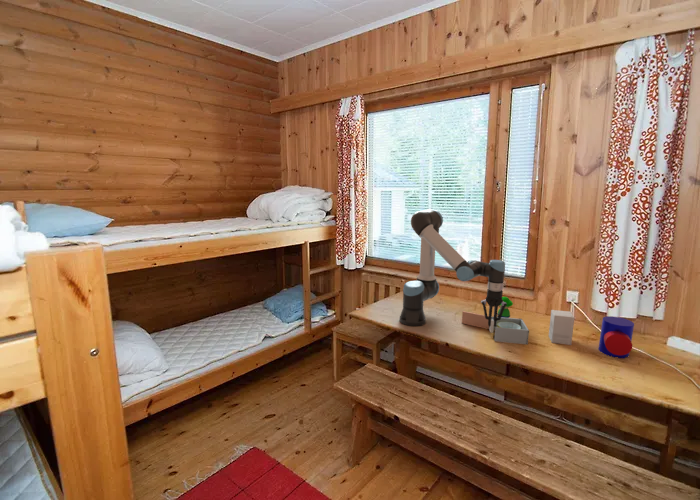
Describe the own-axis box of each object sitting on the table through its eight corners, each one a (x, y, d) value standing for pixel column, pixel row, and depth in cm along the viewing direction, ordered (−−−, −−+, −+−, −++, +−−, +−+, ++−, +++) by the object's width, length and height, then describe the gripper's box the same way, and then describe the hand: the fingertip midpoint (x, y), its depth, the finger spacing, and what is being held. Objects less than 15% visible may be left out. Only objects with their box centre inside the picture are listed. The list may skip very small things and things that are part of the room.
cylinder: (632, 364, 161) (637, 331, 158) (600, 357, 167) (604, 325, 164) (625, 346, 178) (630, 316, 175) (596, 341, 184) (601, 312, 181)
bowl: (501, 330, 198) (502, 319, 197) (523, 336, 190) (524, 325, 189) (492, 336, 190) (493, 325, 189) (515, 343, 182) (516, 331, 181)
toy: (508, 318, 214) (510, 294, 212) (513, 324, 206) (515, 299, 203) (493, 317, 215) (494, 294, 212) (497, 323, 207) (499, 298, 204)
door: (462, 322, 209) (463, 310, 207) (490, 328, 200) (491, 315, 199) (461, 323, 207) (462, 311, 206) (489, 329, 199) (490, 316, 197)
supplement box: (567, 338, 188) (570, 311, 185) (571, 345, 180) (575, 317, 177) (548, 335, 191) (551, 309, 188) (551, 342, 182) (554, 315, 180)
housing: (494, 341, 184) (495, 327, 183) (490, 329, 199) (491, 316, 198) (527, 344, 181) (529, 330, 179) (520, 331, 196) (522, 318, 194)
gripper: (482, 290, 185) (479, 333, 190) (509, 292, 182) (505, 335, 187) (481, 286, 192) (477, 327, 197) (507, 288, 189) (502, 329, 194)
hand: (491, 331), depth 192 cm, fingers closed
